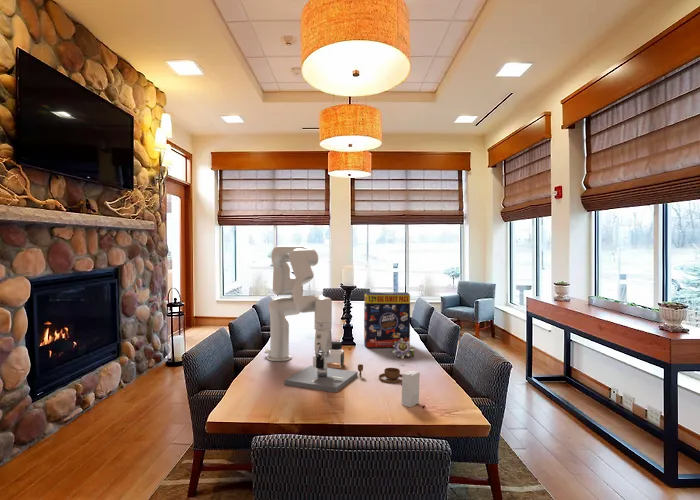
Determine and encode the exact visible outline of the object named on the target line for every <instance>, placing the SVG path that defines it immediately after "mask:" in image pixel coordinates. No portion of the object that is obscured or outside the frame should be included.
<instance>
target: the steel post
mask: <svg viewBox="0 0 700 500" xmlns="http://www.w3.org/2000/svg"><path fill="white" fill-rule="evenodd" d="M317 376H318V377H327V369H325V368H323V369H320V368H317Z"/></svg>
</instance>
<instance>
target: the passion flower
mask: <svg viewBox="0 0 700 500" xmlns="http://www.w3.org/2000/svg"><path fill="white" fill-rule="evenodd" d="M409 343H411V340H410V341H406V342H405V341H404V340H403V338H401V339H400V340H398V341H397V342H395V341H394V343H393V345H392V346H393V347H394V349H393V350H391V353H392V354H395V353H396V357H397V358H400V359H402V360H403V359H404V357H405V356H406V357H410V354H411V357H413V358H414V357H415V349H414V348H413V345H412V344H410V345H409ZM394 344H395V345H394Z"/></svg>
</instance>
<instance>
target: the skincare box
mask: <svg viewBox="0 0 700 500" xmlns="http://www.w3.org/2000/svg"><path fill="white" fill-rule="evenodd" d="M401 374H402V378H401V380H402V382H401V405H402V406H405V407H408V408H412V407H414V406H415V405H417V404H419V403H420V378H421V377H420V371H415V370H409V371H406V372H403V373H401Z"/></svg>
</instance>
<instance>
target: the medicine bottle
mask: <svg viewBox="0 0 700 500" xmlns="http://www.w3.org/2000/svg"><path fill="white" fill-rule="evenodd" d="M342 343H343V342H342V341H340V340H339V341H338V340H332V348H331V350H329V353H330V354H332V363H339V364H341V367H340V368H339V369H342V367H343V366H344V364H345V350H343V349H342V348H343V344H342ZM329 368H331V367H329Z"/></svg>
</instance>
